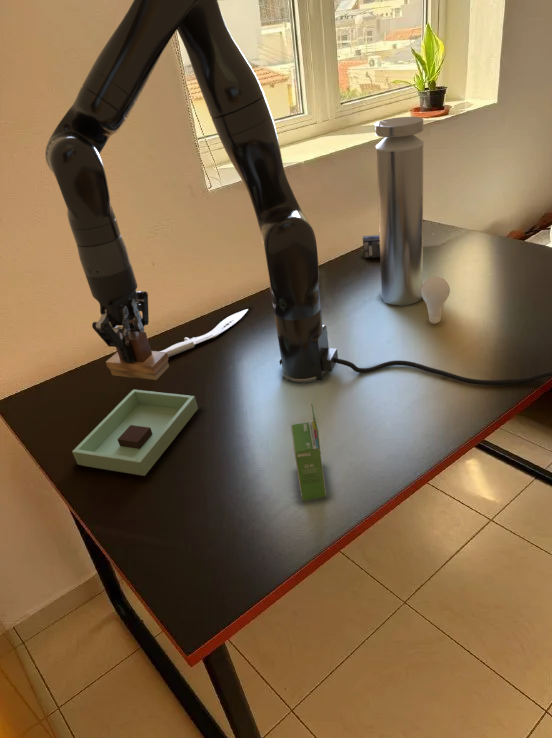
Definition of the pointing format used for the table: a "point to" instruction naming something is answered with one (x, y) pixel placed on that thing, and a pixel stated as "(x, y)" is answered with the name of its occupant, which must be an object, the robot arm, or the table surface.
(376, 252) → the mini dv tape
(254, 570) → the table surface
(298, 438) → the ink box
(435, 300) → the lightbulb
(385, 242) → the silver metal canister
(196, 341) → the knife
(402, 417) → the table surface
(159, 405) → the tray
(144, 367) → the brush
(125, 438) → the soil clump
